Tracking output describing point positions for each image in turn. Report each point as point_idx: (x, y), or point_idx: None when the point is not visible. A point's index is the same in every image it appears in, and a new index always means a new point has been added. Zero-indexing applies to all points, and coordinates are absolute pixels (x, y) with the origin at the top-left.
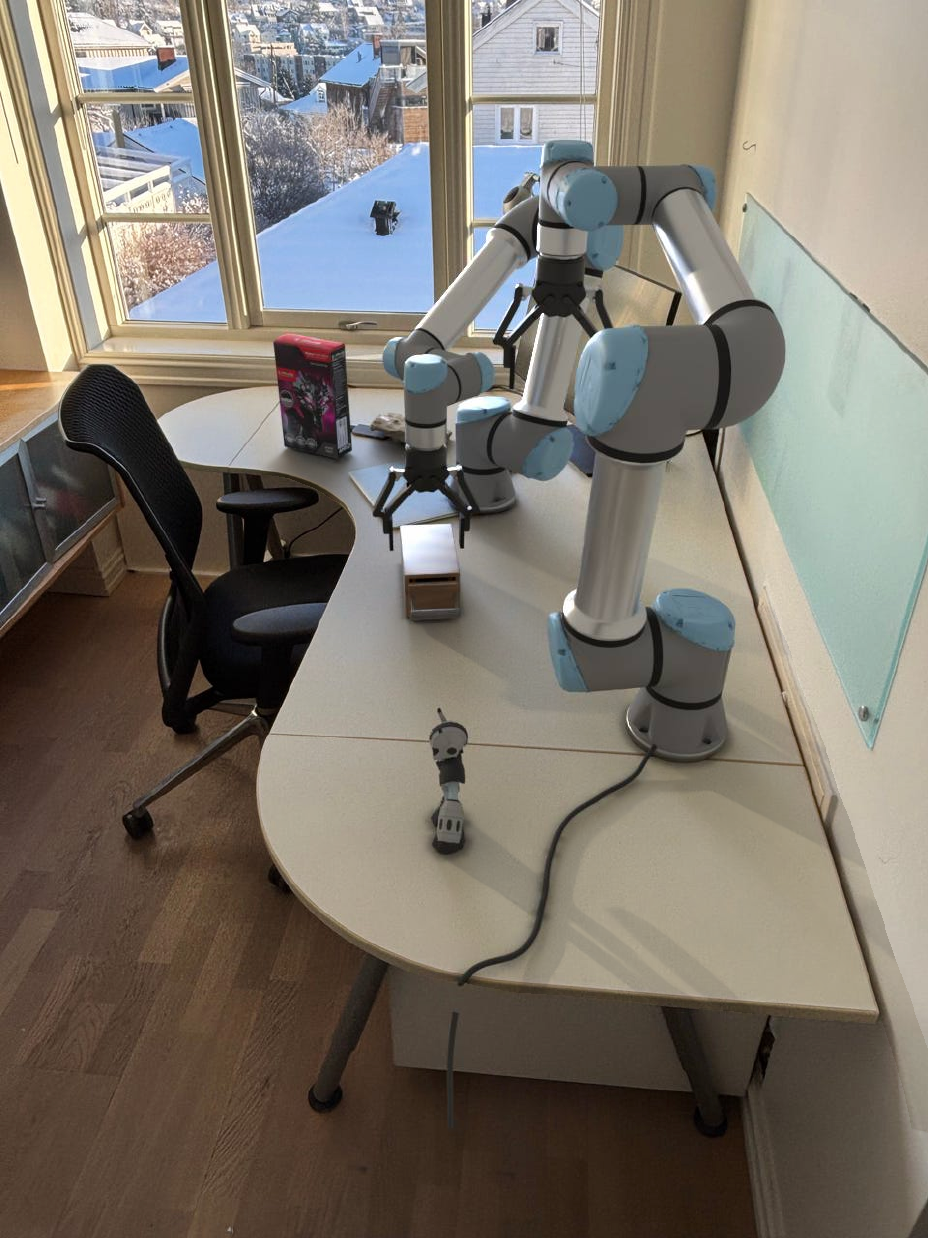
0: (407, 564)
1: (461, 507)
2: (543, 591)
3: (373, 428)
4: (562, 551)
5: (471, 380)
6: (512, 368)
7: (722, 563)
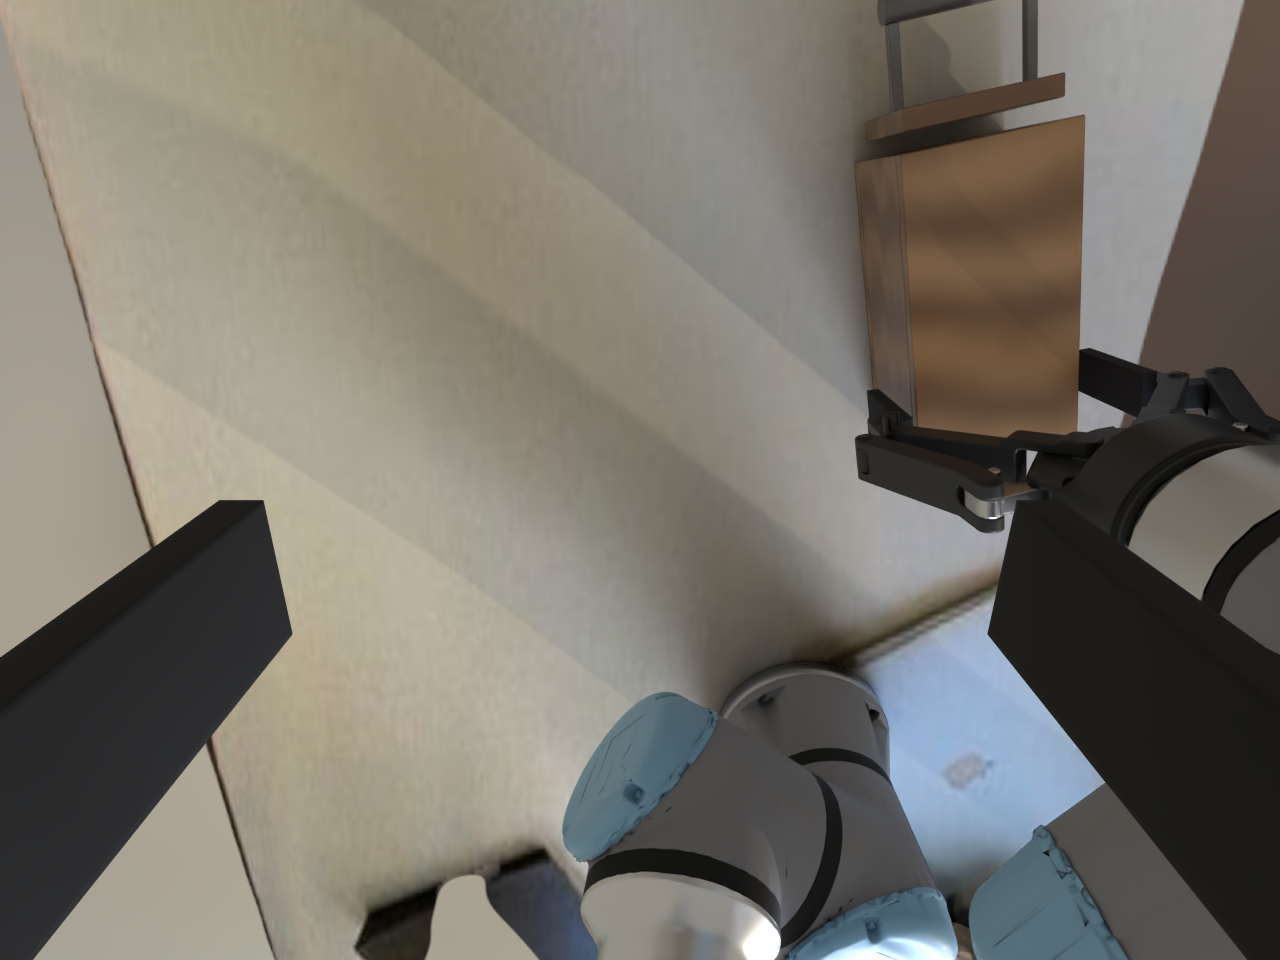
0: (1071, 189)
1: (925, 432)
2: (630, 314)
3: None
4: (590, 515)
5: None
6: (1183, 612)
7: (188, 503)
